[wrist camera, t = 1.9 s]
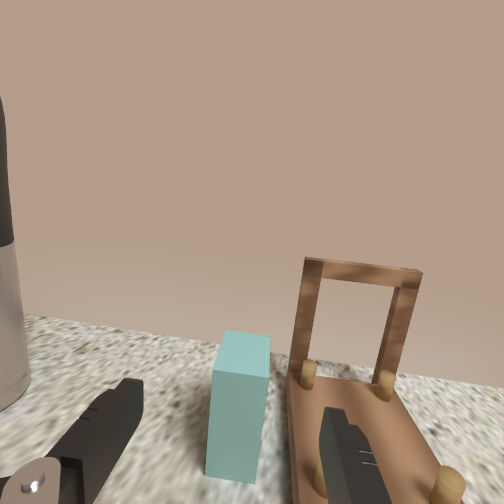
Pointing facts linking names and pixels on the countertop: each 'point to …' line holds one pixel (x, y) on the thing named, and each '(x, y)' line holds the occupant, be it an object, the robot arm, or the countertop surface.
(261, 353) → the teal block
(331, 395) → the peg shelf
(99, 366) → the countertop surface
